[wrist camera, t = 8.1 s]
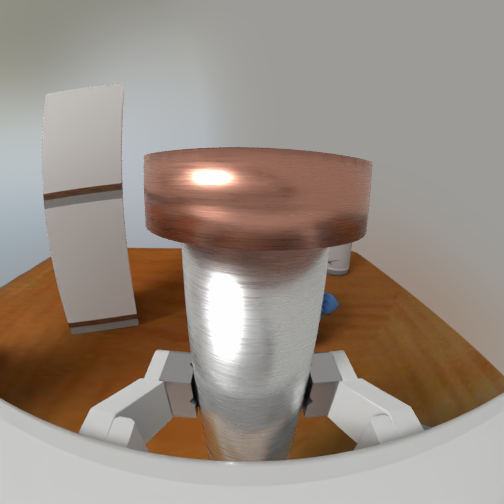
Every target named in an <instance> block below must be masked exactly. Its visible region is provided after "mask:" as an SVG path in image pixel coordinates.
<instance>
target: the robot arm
mask: <svg viewBox="0 0 504 504" xmlns="http://www.w3.org/2000/svg"><path fill="white" fill-rule="evenodd" d="M198 407H199V404H198V398H197V392H196V386H195V379H194V372H193V364H192V357H191V353H189V352H178V351H167V350H156V351H155V353H154V356H153V358H152V360H151V363H150V365H149V367H148V370H147V372H146V375H145V377H144V379H141V378H140V379H138V380H137V381H135V382H133V383H132V384H130V385H129V386H127V387H125V388H124V389H122V390H120V391H119V392H117V393H115V394H114V395H112V396H110V397H109V398H107V399H105V400H104V401H102V402H100V403H99V404H97V405H95V406H94V407H92V408H91V409H90V411H89V413H88V415H87V417H86V419H85V421H84V423H83V425H82V427H81V429H80V431H79V433H75V432H72V431H69V430H67V429H64V428H61V427H59V426H56V425H54V424H52V423H49V422H47V421H45V420H42V419H40V418H38V417H36V416H34V415H31V414H29V413H27V412H25V411H23V410H21V409H19V408H17V407H16V406H14V405H12V404H10V403H8V402H6V401H5V400H3V399H1V398H0V504H504V392H503V393H502V394H500V395H498V396H497V397H495V398H493V399H492V400H490V401H488V402H486V403H484V404H482V405H481V406H479V407H477V408H475V409H473V410H471V411H469V412H467V413H465V414H463V415H460V416H458V417H456V418H454V419H452V420H449V421H447V422H445V423H442V424H440V425H437V426H435V427H432V428H430V429H427V430H424V429H423V427H422V426H421V424H420V422H419V420H418V418H417V417H416V415H415V413H414V411H413V410H412V408H411V407H410V406H409V405H407V404H405V403H403V402H401V401H400V400H398V399H396V398H394V397H393V396H391V395H389V394H387V393H386V392H384V391H382V390H380V389H379V388H377V387H375V386H374V385H372V384H370V383H369V382H367V381H365V380H364V379H362V378H361V379H358V378H357V376H356V374H355V372H354V370H353V368H352V366H351V364H350V362H349V360H348V358H347V356H346V354H345V352H344V351H343V350H341V351H331V352H323V353H314V354H313V359H312V364H311V369H310V373H309V378H308V383H307V387H306V392H305V396H304V400H303V404H302V409H303V413H304V418H305V417H318V416H328V418H330V419H331V420H332V421H333V422H334V423H335V424H336V425H337V426H338V427H339V428H340V429H341V430H343V431H344V432H345V433H346V434H347V435H348V436H349V437H350V438H351V439H353V440H354V441H355V442H356V443H357V445H356V447H355V449H354V450H353V451H349V452H344V453H338V454H332V455H326V456H319V457H312V458H303V459H293V460H279V461H250V462H243V461H214V460H200V459H190V458H181V457H174V456H167V455H161V454H155V453H149V451H148V449H147V447H146V445H145V444H146V443H147V442H148V441H149V440H150V439H151V438H152V437H153V436H154V435H155V434H156V433H157V432H158V431H159V430H161V429H162V428H163V427H164V426H165V425H166V424H167V423H168V422H169V421H170V420H171V419H172V418H173V416H178V417H191V418H197V413H198Z"/></svg>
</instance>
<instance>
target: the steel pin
mask: <svg viewBox="0 0 504 504" xmlns="http://www.w3.org/2000/svg"><path fill="white" fill-rule="evenodd" d="M371 175H372V162H370V161H367V160H363V159H359V158H353V157H349V156H342V155H336V154H329V153H321V152H313V151H303V150H291V149H276V148H247V147H246V148H243V147H237V148H236V147H234V148H233V147H229V148H228V147H227V148H197V149H183V150H173V151H164V152H157V153H151V154H147V155H145V156H144V198H145V218H146V227H147V229H148V230H149V231H150V232H152V233H154V234H156V235H158V236H160V237H163V238H166V239H169V240H173V241H177V242H181V243H182V260H183V276H184V289H185V301H186V312H187V322H188V332H189V340H190V349H191V357H192V364H193V372H194V379H195V386H196V392H197V398H198V404H199V410H200V416H201V422H202V427H203V432H204V438H205V443H206V448H207V452H208V457H209V460H214V461H243V462H250V461H279V460H288V457H289V454H290V450H291V447H292V443H293V439H294V436H295V432H296V428H297V424H298V421H299V417H300V413H301V409H302V404H303V400H304V396H305V392H306V387H307V383H308V378H309V373H310V369H311V364H312V359H313V354H314V348H315V343H316V338H317V332H318V326H319V320H320V314H321V308H322V302H323V295H324V288H325V281H326V273H327V265H328V257H329V248H330V247H334V246H340V245H344V244H348V243H352V242H354V241H357V240H359V239H361V238H362V237H364V236H365V234H366V230H367V221H368V212H369V202H370V190H371Z"/></svg>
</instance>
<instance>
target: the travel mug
mask: <svg viewBox="0 0 504 504" xmlns="http://www.w3.org/2000/svg"><path fill="white" fill-rule="evenodd" d="M351 247H352V243H348V244H344V245H340V246H334V247H330V248H329V257H328V265H327V274H330V275H338V276H339V275H345V274H347V273H348V271H349V263H350V255H351Z"/></svg>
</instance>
